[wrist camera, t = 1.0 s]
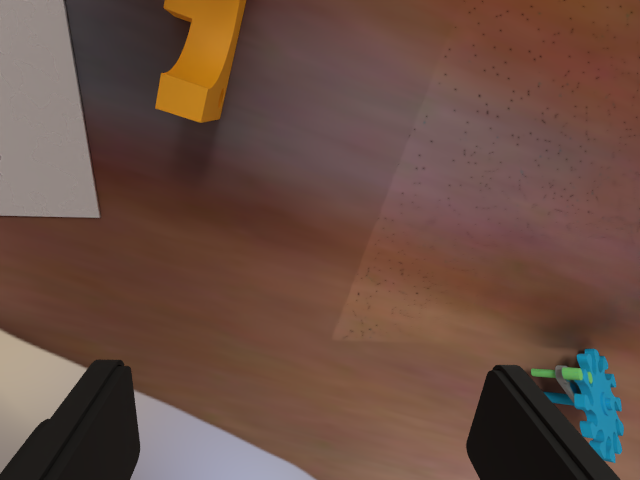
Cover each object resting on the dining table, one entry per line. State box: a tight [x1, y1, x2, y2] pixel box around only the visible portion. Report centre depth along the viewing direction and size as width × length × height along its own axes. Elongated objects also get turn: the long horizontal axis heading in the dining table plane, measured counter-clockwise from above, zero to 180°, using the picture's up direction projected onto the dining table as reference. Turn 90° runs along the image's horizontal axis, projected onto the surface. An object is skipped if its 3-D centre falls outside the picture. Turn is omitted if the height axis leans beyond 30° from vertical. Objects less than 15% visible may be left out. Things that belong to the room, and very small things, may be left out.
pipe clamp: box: [155, 0, 246, 123], centre depth 22 cm, size 12×4×6 cm, turn 162°
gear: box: [531, 349, 624, 463], centre depth 36 cm, size 11×6×10 cm
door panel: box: [0, 0, 101, 218], centre depth 25 cm, size 16×10×1 cm, turn 177°
